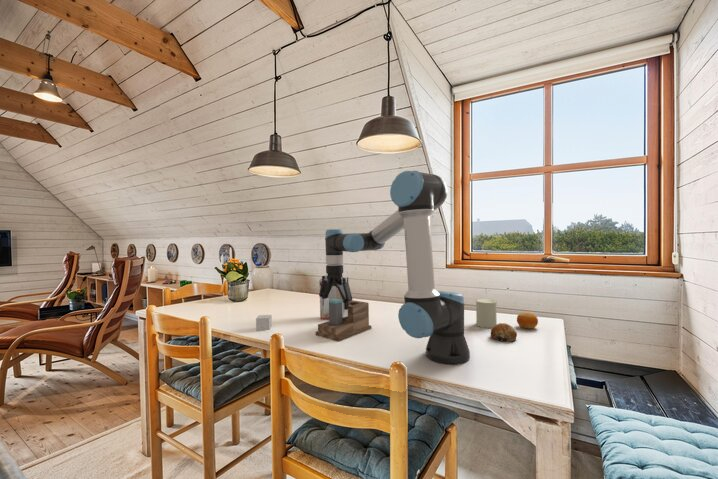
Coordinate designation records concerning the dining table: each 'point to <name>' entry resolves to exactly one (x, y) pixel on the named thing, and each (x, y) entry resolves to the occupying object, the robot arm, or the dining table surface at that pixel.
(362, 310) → the wooden desk organizer
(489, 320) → the can
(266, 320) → the gray cube
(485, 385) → the dining table surface
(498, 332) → the bread roll
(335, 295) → the cracker box
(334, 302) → the plug
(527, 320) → the fruit
